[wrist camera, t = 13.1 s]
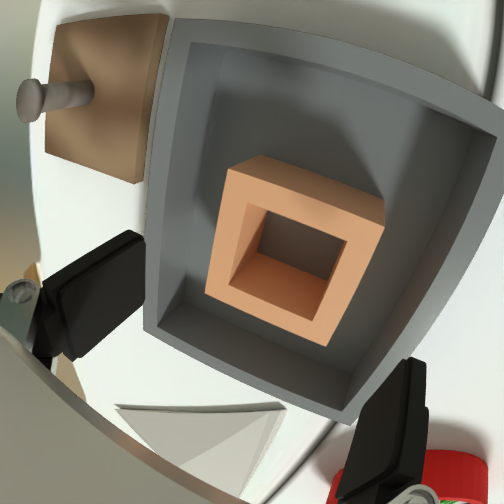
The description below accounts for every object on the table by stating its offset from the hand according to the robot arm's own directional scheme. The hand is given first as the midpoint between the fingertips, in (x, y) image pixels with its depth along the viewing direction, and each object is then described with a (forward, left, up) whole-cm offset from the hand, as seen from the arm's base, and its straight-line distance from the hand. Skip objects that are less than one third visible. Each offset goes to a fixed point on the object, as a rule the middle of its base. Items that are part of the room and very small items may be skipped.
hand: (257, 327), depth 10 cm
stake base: (-4, -19, -10) cm, 22 cm away
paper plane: (+35, -7, -10) cm, 37 cm away
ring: (+1, -1, -9) cm, 9 cm away
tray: (+1, -1, -10) cm, 10 cm away
